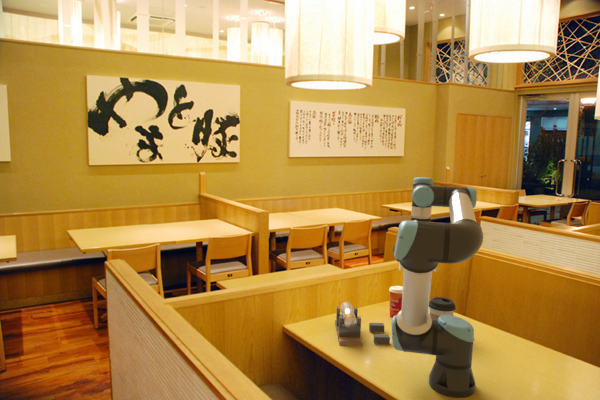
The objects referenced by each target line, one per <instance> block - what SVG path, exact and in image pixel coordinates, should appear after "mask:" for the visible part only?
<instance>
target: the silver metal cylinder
mask: <svg viewBox="0 0 600 400" xmlns="http://www.w3.org/2000/svg"><path fill="white" fill-rule="evenodd" d="M340 312H341V314H342V315H343V319H344V323H345V326H346V327H347V328H349V329H353V328H355V327H356V326H357V319H356V317H355V314H354V308H353V306H352V304H351V302H349V301H344V302H342V303H341V305H340Z"/></svg>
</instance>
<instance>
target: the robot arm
mask: <svg viewBox="0 0 600 400" xmlns="http://www.w3.org/2000/svg"><path fill="white" fill-rule="evenodd" d="M476 205H477V189H476V188H474V187H468V186H448V185H434V179H433V178H432V177H427V176H417V177H414V178H413V181H412V193H411V209H410V211H411V213H410V215H411V218H410V220H402V221H401V222H400V223H399V225H398V228H397V233H396V240H395V244H394V245H393V247H392V252H394V254H393V257H394V258H395V259H396V262H398V270H399V271H401V272H403V273H402V274H403V275H402V287H403V290H402V309H401V311H400V312H399V313H398V315H395V316H393V318H391V319H392V320H391V341H392V346H393V348H394V349H395V350H396V351H401V352H404V353H414V354H422V355H430V356H435V360H434V364H433V366H432V367H431V370H430V372H429V375H428V384H429V387H431V389H433V390H434V391H436V392H437V393H440V394H442V395H445V396H447V397H453V398H467V397H470V396H472V395H473V394H475V392H476V380H475V376H474V373H473V369H472V363H473V351H474V350H473V349H474V348H473V347H474V341H475V335H474V334H475V329H474V326H473V325H472V324H471V323H470V322H469V321H467V320H466V319H465V318H464V319H463V318H461V317H458V316H455V315H453V316H451V315H441V316H440V317H439V318H438V320H432V319H431V316H430V313H429V310H430V309H429V301H430V300H431V299H430V297H431V290H432V289H431V286H432V278H433V277H432V276H433V271H434V272H436V273H437V269H438V266H439V264H448V265H449V264H451V265H453V264H454V265H455V264H459V263H462V262H465V261H467V260H469V259H471V258H473V256H474V255H476V254H477V253H478V251H479V250H480V248H481V247H482V245H483V242H484V232H483V228H482V226H481V225H480V224H479V223H478V222H477V220H476V215H475V211H474V209H475V208H476ZM432 207H442V208H448V209H449V210H448V211H449V216H450V218H449V219H450V222H435V221H432V219H431V217H432Z"/></svg>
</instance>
